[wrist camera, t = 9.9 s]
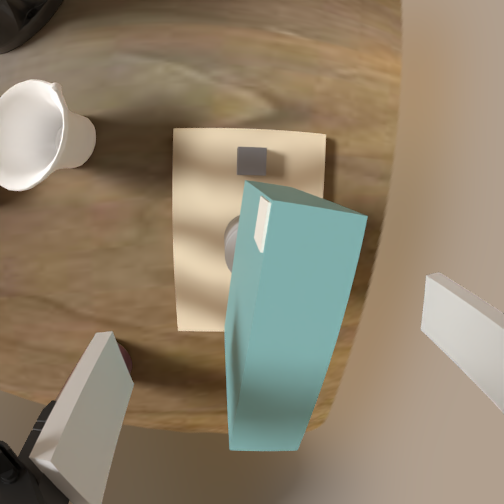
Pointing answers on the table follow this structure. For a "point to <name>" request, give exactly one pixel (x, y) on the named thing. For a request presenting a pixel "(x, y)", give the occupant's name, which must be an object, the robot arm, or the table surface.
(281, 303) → the teal rectangular panel
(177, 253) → the post base
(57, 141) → the cup
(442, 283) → the robot arm
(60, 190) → the table surface
